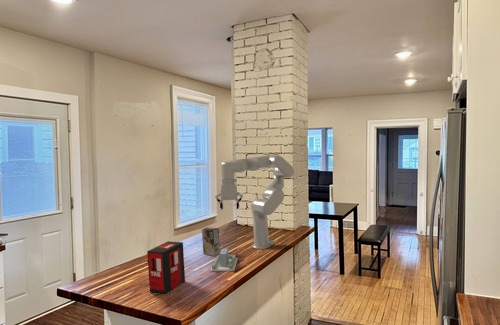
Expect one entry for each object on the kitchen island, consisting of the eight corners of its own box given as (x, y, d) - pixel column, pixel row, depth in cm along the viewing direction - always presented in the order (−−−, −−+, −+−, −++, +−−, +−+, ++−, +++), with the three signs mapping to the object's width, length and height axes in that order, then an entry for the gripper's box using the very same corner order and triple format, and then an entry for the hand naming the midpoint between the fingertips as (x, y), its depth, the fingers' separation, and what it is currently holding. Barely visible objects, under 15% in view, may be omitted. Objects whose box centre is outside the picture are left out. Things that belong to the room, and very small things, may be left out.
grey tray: (237, 259, 202) (237, 254, 202) (234, 270, 184) (234, 265, 184) (215, 260, 203) (215, 255, 202) (210, 271, 185) (210, 266, 184)
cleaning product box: (165, 295, 158) (163, 252, 156) (149, 292, 161) (147, 251, 160) (185, 281, 173) (182, 242, 172) (170, 279, 176) (168, 241, 175)
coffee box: (220, 253, 216) (219, 228, 215) (215, 256, 210) (213, 230, 209) (208, 251, 220) (207, 227, 219) (202, 254, 214) (201, 229, 213)
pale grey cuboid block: (228, 260, 198) (228, 248, 198) (226, 266, 188) (225, 254, 188) (222, 260, 198) (222, 248, 198) (220, 266, 188) (219, 254, 188)
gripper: (242, 180, 214) (244, 207, 215) (215, 181, 215) (216, 208, 216) (241, 181, 206) (243, 209, 207) (213, 182, 207) (215, 210, 208)
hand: (229, 209), depth 212 cm, fingers open, 9 cm apart
